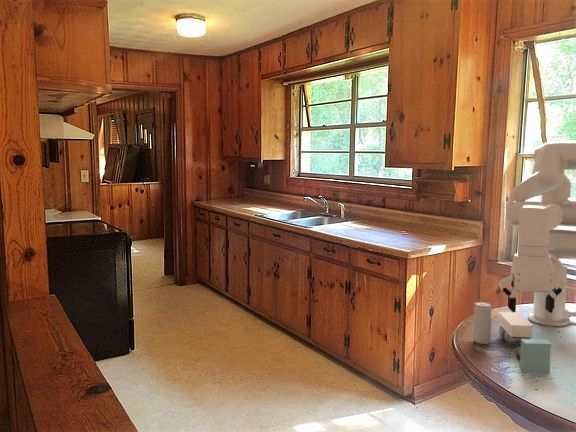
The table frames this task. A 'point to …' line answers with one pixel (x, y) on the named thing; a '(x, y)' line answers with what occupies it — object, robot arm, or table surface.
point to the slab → (515, 324)
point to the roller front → (513, 340)
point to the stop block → (535, 356)
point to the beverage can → (482, 322)
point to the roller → (518, 352)
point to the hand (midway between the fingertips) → (530, 310)
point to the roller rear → (502, 332)
